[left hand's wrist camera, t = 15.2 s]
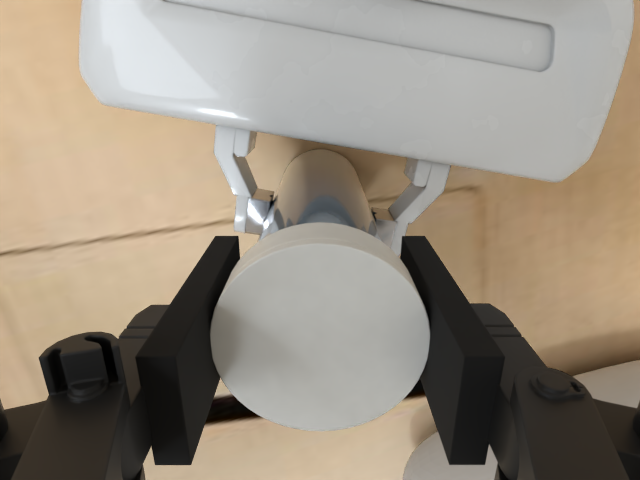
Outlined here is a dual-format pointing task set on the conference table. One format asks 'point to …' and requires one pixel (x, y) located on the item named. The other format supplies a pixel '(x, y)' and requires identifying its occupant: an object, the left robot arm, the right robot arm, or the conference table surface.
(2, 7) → the conference table surface
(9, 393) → the conference table surface
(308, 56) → the right robot arm
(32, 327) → the conference table surface
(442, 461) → the projector
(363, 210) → the blue-grey bottle
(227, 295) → the lid
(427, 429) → the conference table surface
